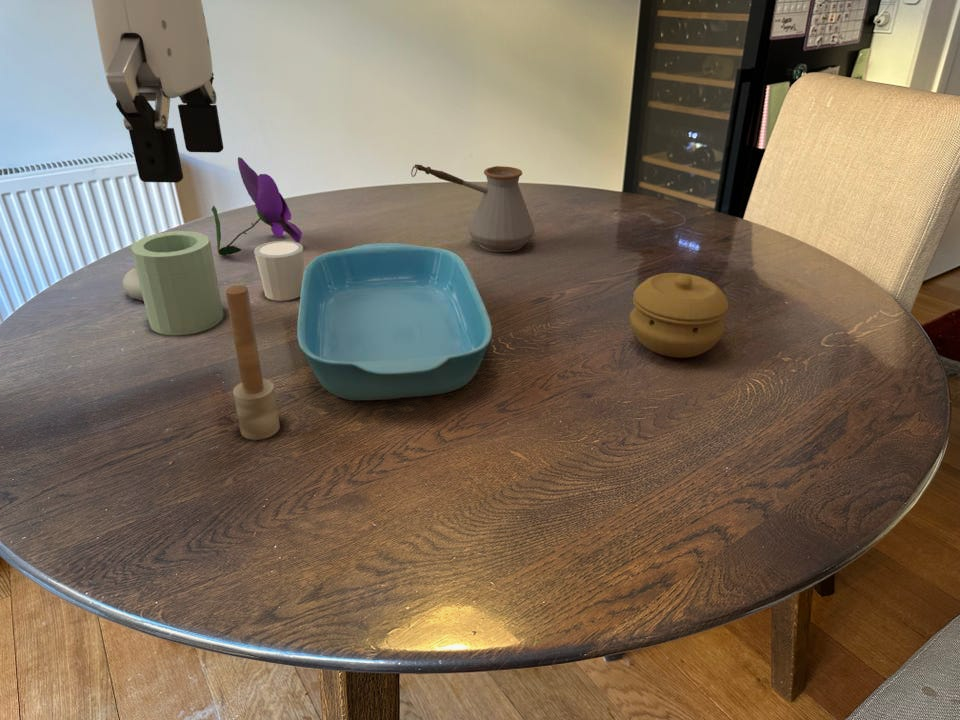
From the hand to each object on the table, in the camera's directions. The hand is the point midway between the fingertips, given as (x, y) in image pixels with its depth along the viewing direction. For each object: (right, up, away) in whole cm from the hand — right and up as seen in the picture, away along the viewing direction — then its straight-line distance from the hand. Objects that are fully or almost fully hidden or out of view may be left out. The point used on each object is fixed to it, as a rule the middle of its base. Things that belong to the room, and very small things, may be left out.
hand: (185, 165), depth 59 cm
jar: (-15, -11, +37) cm, 41 cm away
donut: (-22, -6, +45) cm, 51 cm away
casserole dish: (+14, -14, +32) cm, 38 cm away
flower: (-13, +2, +60) cm, 61 cm away
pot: (+50, -15, +32) cm, 61 cm away
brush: (+2, -24, +15) cm, 28 cm away
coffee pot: (+24, +3, +63) cm, 67 cm away
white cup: (-4, -7, +45) cm, 46 cm away
